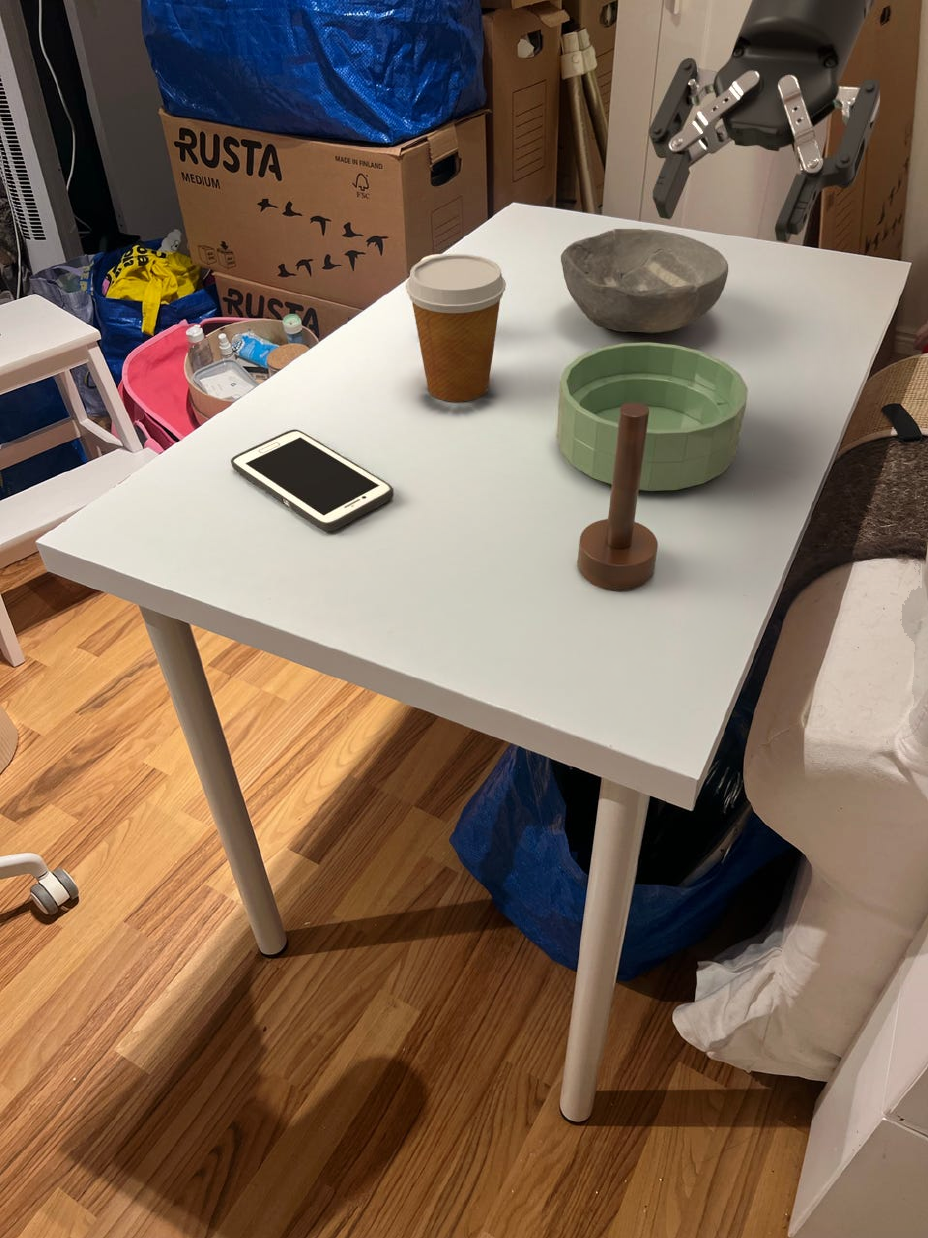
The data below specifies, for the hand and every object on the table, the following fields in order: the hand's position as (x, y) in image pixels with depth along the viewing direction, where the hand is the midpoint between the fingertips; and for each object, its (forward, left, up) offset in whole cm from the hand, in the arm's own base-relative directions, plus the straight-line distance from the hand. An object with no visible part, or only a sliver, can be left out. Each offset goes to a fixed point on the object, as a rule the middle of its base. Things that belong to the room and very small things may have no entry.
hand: (720, 224), depth 63 cm
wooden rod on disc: (+4, +10, -23) cm, 25 cm away
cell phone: (+31, +5, -23) cm, 40 cm away
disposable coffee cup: (+23, -15, -24) cm, 37 cm away
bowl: (+7, -34, -24) cm, 42 cm away
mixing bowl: (+3, -8, -23) cm, 25 cm away
